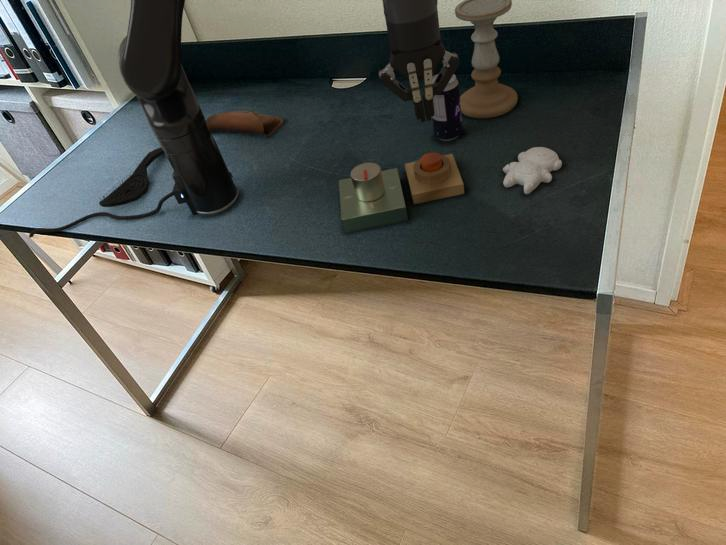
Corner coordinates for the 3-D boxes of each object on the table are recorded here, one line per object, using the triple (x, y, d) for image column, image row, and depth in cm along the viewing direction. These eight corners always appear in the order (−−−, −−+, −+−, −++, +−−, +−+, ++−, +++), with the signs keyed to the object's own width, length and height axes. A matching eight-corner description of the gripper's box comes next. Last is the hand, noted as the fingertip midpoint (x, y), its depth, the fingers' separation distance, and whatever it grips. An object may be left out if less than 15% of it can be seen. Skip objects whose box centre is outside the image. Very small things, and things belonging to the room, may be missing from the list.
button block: (413, 204, 94) (410, 186, 91) (406, 173, 101) (403, 155, 98) (464, 194, 93) (462, 175, 90) (453, 163, 100) (451, 144, 97)
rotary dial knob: (355, 187, 96) (349, 164, 92) (383, 181, 95) (378, 158, 92) (356, 204, 92) (350, 181, 89) (386, 198, 91) (381, 175, 88)
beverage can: (462, 142, 105) (457, 84, 96) (433, 144, 106) (425, 87, 98) (463, 126, 108) (459, 70, 100) (435, 129, 110) (429, 73, 102)
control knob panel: (345, 233, 92) (341, 219, 90) (342, 193, 101) (338, 179, 98) (408, 220, 91) (405, 205, 89) (399, 181, 100) (397, 166, 97)
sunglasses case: (286, 117, 126) (270, 102, 120) (277, 144, 125) (261, 131, 119) (227, 114, 134) (210, 100, 128) (219, 139, 133) (201, 126, 127)
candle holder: (528, 94, 112) (529, -7, 98) (498, 123, 107) (495, 20, 93) (477, 86, 119) (471, -10, 105) (446, 113, 114) (436, 15, 100)
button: (423, 174, 93) (422, 165, 92) (420, 163, 96) (419, 154, 95) (443, 169, 93) (442, 161, 92) (440, 158, 96) (439, 150, 94)
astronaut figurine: (490, 183, 93) (489, 169, 91) (529, 149, 98) (529, 134, 96) (534, 199, 88) (534, 184, 86) (573, 162, 93) (574, 147, 91)
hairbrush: (175, 137, 125) (119, 199, 108) (182, 151, 128) (128, 214, 110) (146, 140, 128) (85, 201, 110) (153, 154, 130) (95, 215, 112)
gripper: (451, -10, 78) (460, 99, 90) (363, 12, 79) (383, 117, 91) (462, 7, 73) (470, 121, 85) (367, 30, 74) (388, 139, 86)
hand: (425, 119), depth 88 cm, fingers closed
